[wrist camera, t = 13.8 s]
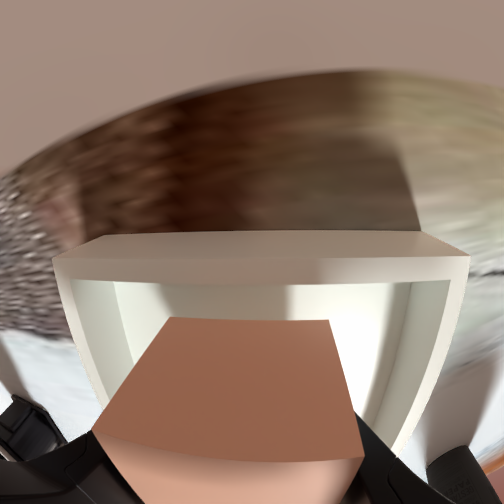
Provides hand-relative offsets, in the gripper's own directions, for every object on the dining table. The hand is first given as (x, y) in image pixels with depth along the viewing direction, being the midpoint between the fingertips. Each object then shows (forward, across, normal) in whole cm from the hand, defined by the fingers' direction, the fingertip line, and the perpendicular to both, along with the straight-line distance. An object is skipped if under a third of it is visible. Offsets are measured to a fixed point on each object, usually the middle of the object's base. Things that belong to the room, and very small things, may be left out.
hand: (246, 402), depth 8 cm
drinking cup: (+5, -18, +18) cm, 26 cm away
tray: (+5, 0, +4) cm, 7 cm away
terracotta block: (+1, 0, 0) cm, 1 cm away
